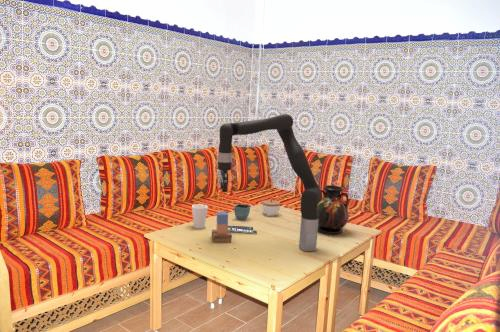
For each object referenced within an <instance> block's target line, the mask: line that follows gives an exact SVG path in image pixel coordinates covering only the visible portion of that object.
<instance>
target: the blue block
mask: <svg viewBox="0 0 500 332" xmlns="http://www.w3.org/2000/svg"><path fill="white" fill-rule="evenodd" d="M217 224H218V225H219V224H229V214H228V211H217V212H216V225H217Z"/></svg>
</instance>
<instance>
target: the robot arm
mask: <svg viewBox="0 0 500 332" xmlns="http://www.w3.org/2000/svg"><path fill="white" fill-rule="evenodd" d="M293 126H294V119H293V116H291V115H290V114H288V113H282V114H279V115H275V116H272V117H267V118H262V119H256V120H255V119H254V120H246V121H241V122H229V123H227V122H226V123H223V124H221V126H220V127H219V144H218V155H217V170H219V171H220V173H219V175H220V176H219V179H220V189H221V190H222V192H223V193H227V191H228V190H227V189H228V185H229V173H228V171H231V170H232V167H233V166H232V162H233V155H232V154H233V144H232V143H233V136H246V135H253V134H258V133H260V132H265V131H269V130H276V131H277V133H278V135H279V137H280V140H281V141H282V144H283V147H284V150H285V153H286V155H287V159H288V162H289V163H290V166H291V168H292V170H293V172H294V174H296V175H297V177H298V178H299V180H300V181H301V182H302V184H303V188H304V190H303V191H302V193H301V196H300V197H301V198H300V214H301V218H300V227H299V228H300V231H299V243H298V248H299V249H300V250H302V251H304V252H316V251H317V245H318V243H317V241H318V232H319V231H318V221H319V213H318V212H317V204H318V203H319V202H320V201H321V200H322V198H323V192H321V190H322V189H321V188H320V187H319V185H318V183H317V181H316V179H315V177H314V173H313V171H312V168H311V166H310V164H309V161H308V158H307V155H306V153H305V151H304V149H303V147H302V145H300V143H299V142H298V140H297V138H296V137H295V133H294V131H293Z"/></svg>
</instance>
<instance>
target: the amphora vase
mask: <svg viewBox="0 0 500 332" xmlns="http://www.w3.org/2000/svg"><path fill="white" fill-rule="evenodd" d="M320 190H321V192H322V195H323V196H322V200H321V201H320V202H319V203H318V204H317V212H318V213H319V221H318V232H319V233H321V234H324V235H329V236H330V235H332V236H335V235H337V236H338V235H341V234H343V232H344V227H346V225H347V224H348V222H349V218H350V214H349V209H348V207H349V195H348V193H346V192H344V190H345V187H342V186H338V185H330V184H329V185H328V184H327V185H323V186H322V189H320ZM342 196H345V197H346V201H345V202H344V200H343V199H342Z"/></svg>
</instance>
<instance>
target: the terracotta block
mask: <svg viewBox="0 0 500 332" xmlns="http://www.w3.org/2000/svg"><path fill="white" fill-rule="evenodd" d="M228 224H229V223H228ZM228 224H219V225H218V224H217V223H216V224H215V225H216V229H215V230H216V232H217V234H227V229H228V226H229V225H228Z"/></svg>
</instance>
